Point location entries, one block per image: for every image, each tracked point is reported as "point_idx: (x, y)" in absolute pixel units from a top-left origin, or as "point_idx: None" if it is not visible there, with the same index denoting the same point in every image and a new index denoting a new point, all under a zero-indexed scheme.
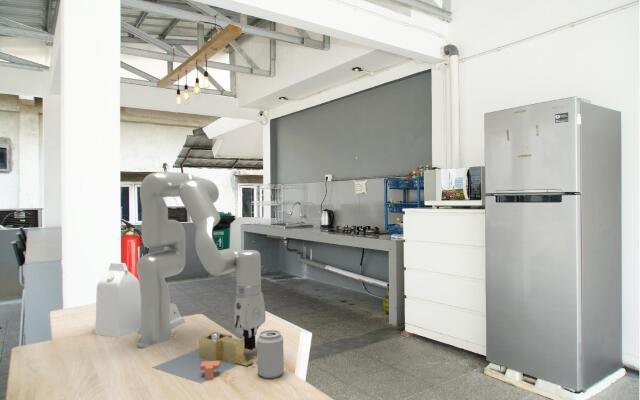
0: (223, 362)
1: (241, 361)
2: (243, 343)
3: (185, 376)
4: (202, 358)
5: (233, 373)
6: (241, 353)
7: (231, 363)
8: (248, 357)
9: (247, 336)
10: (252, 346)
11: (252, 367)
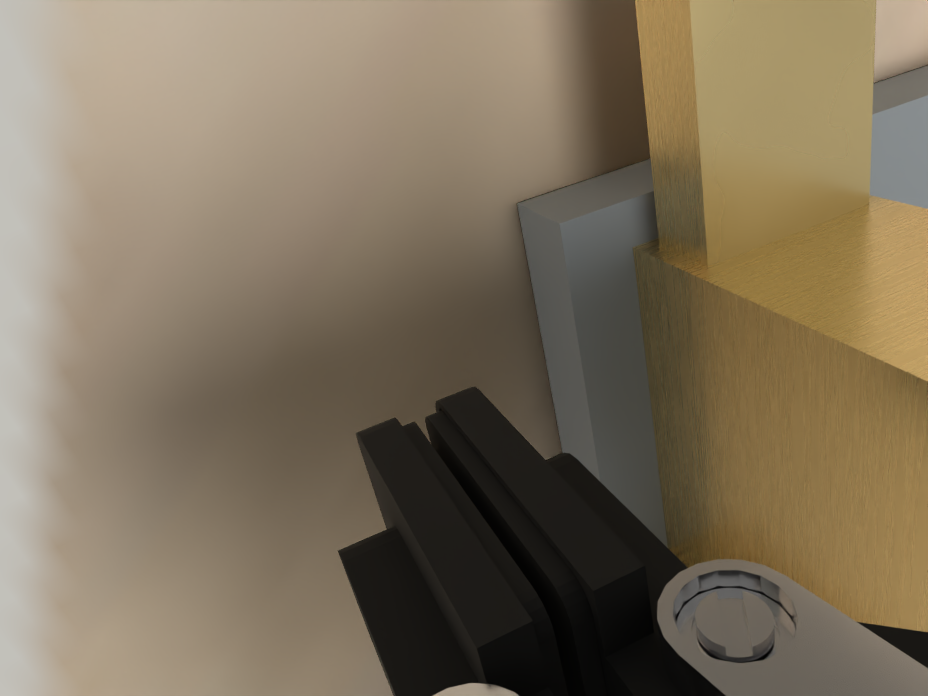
0: None
1: (854, 70)
2: (925, 366)
3: None
4: None
5: None
6: (799, 267)
7: None
8: (716, 99)
9: (791, 617)
10: (488, 420)
11: (551, 35)
